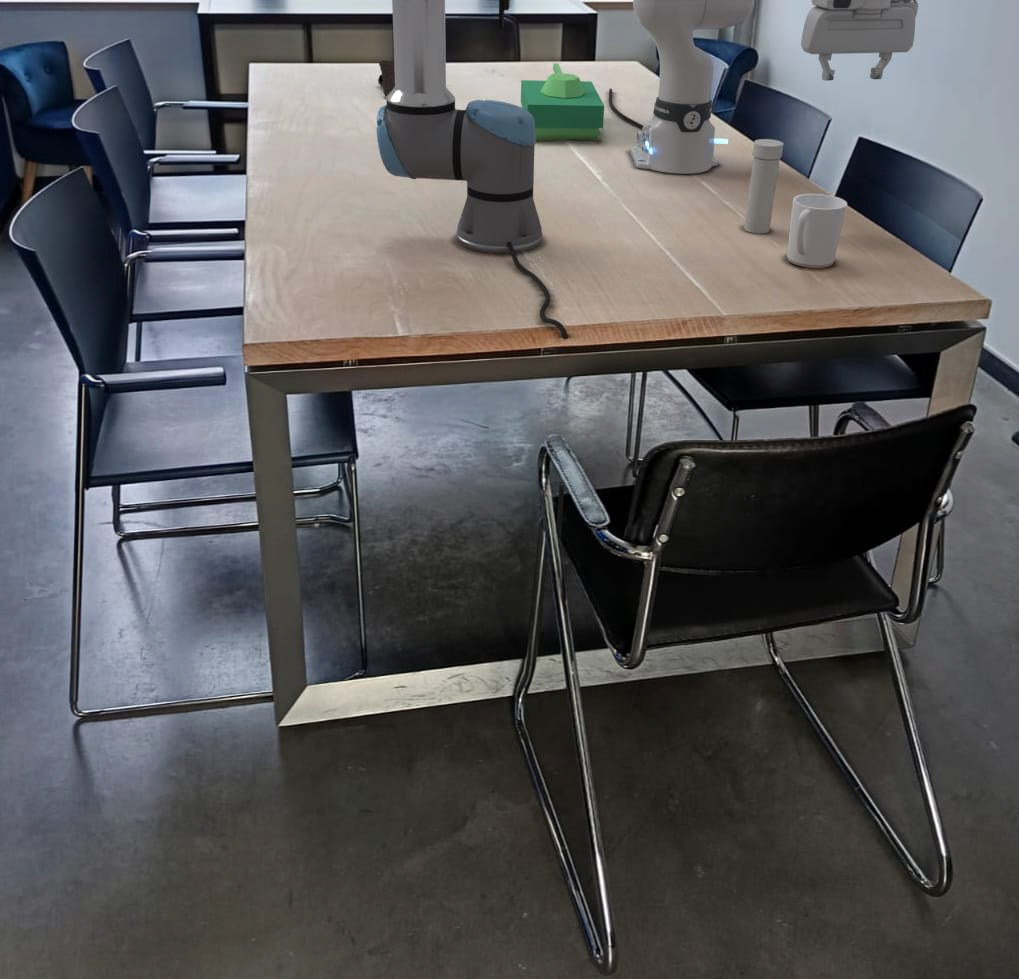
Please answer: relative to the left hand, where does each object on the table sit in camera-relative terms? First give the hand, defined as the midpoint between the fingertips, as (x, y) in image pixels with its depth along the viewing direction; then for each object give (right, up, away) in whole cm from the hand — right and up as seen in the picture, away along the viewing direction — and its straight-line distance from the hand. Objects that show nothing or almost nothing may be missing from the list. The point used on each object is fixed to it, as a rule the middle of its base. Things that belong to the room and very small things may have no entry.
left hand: (468, 26), depth 224 cm
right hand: (+70, -21, -27) cm, 78 cm away
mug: (+60, -56, -35) cm, 89 cm away
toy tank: (+20, -5, +46) cm, 51 cm away
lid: (+55, -33, -28) cm, 70 cm away
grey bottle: (+55, -46, -20) cm, 74 cm away
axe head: (-21, +14, +76) cm, 80 cm away
